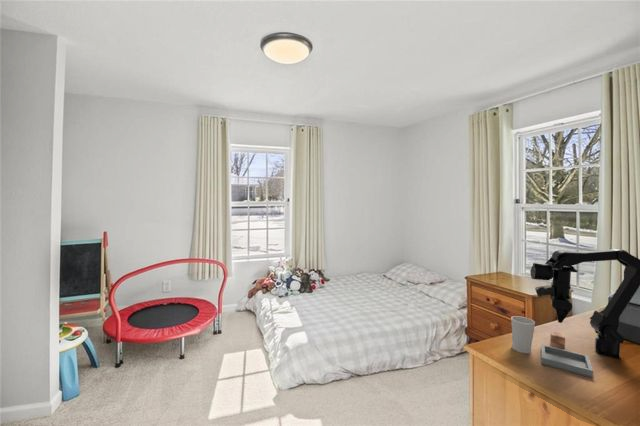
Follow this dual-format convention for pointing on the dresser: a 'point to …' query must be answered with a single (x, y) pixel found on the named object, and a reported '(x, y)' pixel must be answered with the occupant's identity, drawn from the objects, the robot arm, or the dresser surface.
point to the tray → (566, 360)
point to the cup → (522, 333)
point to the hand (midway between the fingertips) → (559, 319)
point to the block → (557, 340)
